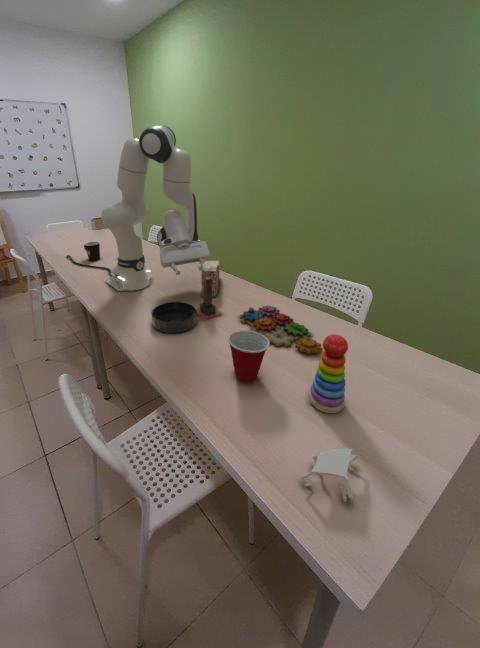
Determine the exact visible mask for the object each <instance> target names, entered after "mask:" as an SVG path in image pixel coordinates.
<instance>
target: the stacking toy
mask: <svg viewBox="0 0 480 648" xmlns="http://www.w3.org/2000/svg"><path fill="white" fill-rule="evenodd" d="M322 349H323V352H322V353H321V355H320V357H321V358H320V359H319V360H318V365H317V367H316V372H315V375H314V378H313V380H312V385H311V387H310V391H309V392H308V399H309V402H310V403H311V404H312V406H313V407H315V408H316V409H317V410H319V411H321V412H323V413H326V414H327V413H328V414H336V413H339V412H341V411H342V410H343V409H344V408H345V393H346V378H345V377H346V373H345V371H346V365H345V364H346V361H347V360H346V356H345V355H346V354H347V352H348V350H349V343H348V341H347V340H346V338H345V337H343V336H342V335H340V334H337V333H333V334H328V335H327V336H326V337H325V338H324V340H323V342H322Z"/></svg>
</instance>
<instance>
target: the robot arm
mask: <svg viewBox="0 0 480 648" xmlns="http://www.w3.org/2000/svg"><path fill="white" fill-rule="evenodd" d="M176 143H177V139H176V135H175V132H174V131H173V130H172V129H171V128H170V127H168V126H167V125H163V124H162V125H161V124H157V125H152V126H149V127H146V128H145V129H144V130H143V131H142V132H141V134H140V136H139V138H137V137H132V138H131V137H130V138H128V139H126V140H125V142H124V144H123V147H122V150H121V153H120V157H119V164H118V172H117V178H116V186H117V188H118V189H119V190H120V192H121V201H118V202H114V203H111V204H109V205H108V206H106V207H105V208H103V210H101V214H100V218H101V222H102V224H103V226H104V227H105V228H106V229H107V230H109V231H110V232H111V233H112V235H113V237H114V239H115V242H116V247H117V255H118V257H116V258H115V259H116V261H117V264H116V265H115V266H114V267H113V268H108V267H104V266H96V265H90V264H83V263H79V262H77V261H75V260H74V259H73V257H72V256H71V255H70V254H67V255H66V258H69V259H70V260H71V261H72V263H73V264H74V265H77V266H81V267H88V268H94V269H101V270H107V271H108V273H109V276H110V277H109V278H108V279H107V280H106V283H107V284H108V286H110V287H112V288H113V289H115V291H117V292H125V291H139V290H143V289H146V288H148V286H150V280H151V277H150V276H149V273H151V270H149V269H148V268H147V264H145V263H146V259H145V255H144V251H143V250H144V249H143V241H142V238H141V237H140V236H139V235H137V234H136V231H135V227H134V226H136V225H138V224H141V223H143V222H144V221H145V220H146V219H147V218H148V217H149V213H150V210H149V209H150V208H149V206H148V204H147V203H146V200H145V185H146V180H147V179H146V178H147V173H148V166H149V162H150V160H153V161H154V162H156V163H158V164H161V165H162V169H163V170H162V179H161V187H162V188H161V189H162V193H163V195H164V196H165V198H167V199H168V200H169V201H171V202H172V203H174V204H176V205H179V206H181V207H183V209H184V211H185V218H184V216H183V215H182V212H180V210H178V209H169V210H167V211H165V212H164V213H163V214H162V226H161V228H160V229H159V231H157V235H156V240H157V241H156V242H157V245H158V247H159V261H160V266H161V267H162V268H163V269H165V268H171V270H172V271H173V272H174V273H175V275H176V276H179V275H181V270H180V268H177V267H176V266H182V265H188V264H193V263H199V264H198V267H197V269H198V271H199V272H200V271H201V270H203V266H204V262H205V261H209V259H210V257H211V251H210V250H209V247H208V244H207V242H206V241H205V240H203V239H199V234H198V214H197V199H196V195H195V193H193V192H192V190H191V175H192V173H191V170H192V169H191V168H192V167H191V166H192V163H191V156H190V154H189V152H187V151H186V150H184V149H181V148H177V147H176ZM148 272H149V273H148Z"/></svg>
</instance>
